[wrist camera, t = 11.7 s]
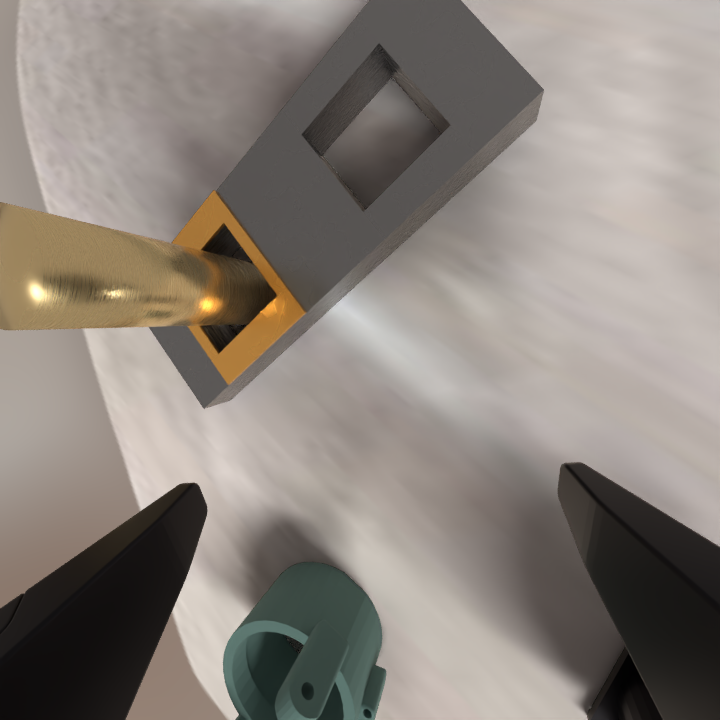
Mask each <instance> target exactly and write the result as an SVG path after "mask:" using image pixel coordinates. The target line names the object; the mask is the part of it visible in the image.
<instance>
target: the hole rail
mask: <svg viewBox="0 0 720 720" xmlns="http://www.w3.org/2000/svg"><path fill="white" fill-rule="evenodd" d="M391 77H393V78H394V79H395V80H396V81H397V83H398V84H399V85H400V86H401V87H402V88H403V89H404V91H405V92H406V93H407V94H408V95H409V96H410V98H411V99H412V100H413V101H414V102H415V103H416V104H417V106H418V107H419V108H420V109H421V110H422V111H423V113H424V114H425V115H426V116H427V117H428V118H429V119H430V121H431V122H432V123H433V124H434V125H435V126H436V128H437V129H438V130H439V131H440V132H441V133H442V134H441V135H440V136H439V137H438V138H437V139H436V140H435V141H434V142H433V143H432V144H431V145H430V146H429V147H428V148H427V149H426V150H425V151H424V152H423V153H422V154H421V155H420V156H419V157H418V158H417V159H416V160H415V161H414V162H413V163H412V164H411V165H410V166H409V167H408V168H407V169H406V170H405V171H404V172H403V173H402V174H401V175H400V176H399V177H398V178H397V179H396V180H395V181H394V182H393V183H392V184H391V185H390V186H389V187H388V188H387V189H386V190H385V191H384V192H383V193H382V194H381V195H380V196H379V197H378V198H377V199H376V200H375V201H374V202H373V203H372V204H371V205H370V206H369V207H368V208H367V209H365V208H364V207H363V206H362V204H361V203H360V202H359V201H358V199H357V198H356V197H355V196H354V194H353V193H352V192H351V191H350V189H349V188H348V187H347V186H346V184H345V183H344V182H343V181H342V179H341V178H340V177H339V176H338V175H337V173H336V172H335V171H334V170H333V168H332V167H331V166H330V165H329V163H328V162H327V161H326V160H325V158H324V157H323V156H322V154H323V153H324V152H325V151H326V150H327V149H328V148H329V146H330V145H331V144H332V143H333V142H334V141H335V140H336V139H337V137H338V136H339V135H340V134H341V133H342V132H343V131H344V130H345V128H346V127H347V126H348V125H349V124H350V123H351V122H352V121H353V119H354V118H355V117H356V116H357V115H358V114H359V113H360V112H361V111H362V109H363V108H364V107H365V106H366V105H367V104H368V103H369V102H370V100H371V99H372V98H373V97H374V96H375V95H376V94H377V93H378V91H379V90H380V89H381V88H382V87H383V86H384V85H385V84H386V82H387V81H388V80H389V79H390V78H391ZM543 92H544V89H543V88H542V87H541V86H540V85H539V84H538V83H537V82H536V81H535V80H534V79H533V78H532V76H531V75H530V74H529V73H528V72H527V71H526V70H525V69H524V68H523V67H522V66H521V65H520V64H519V62H518V61H517V60H516V59H515V58H514V57H513V56H512V55H511V54H510V53H509V52H508V51H507V50H506V49H505V47H504V46H503V45H502V44H501V43H500V42H499V41H498V40H497V39H496V38H495V37H494V36H493V35H492V33H491V32H490V31H489V30H488V29H487V28H486V27H485V26H484V25H483V24H482V23H481V22H480V21H479V19H478V18H477V17H476V16H475V15H474V14H473V13H472V12H471V11H470V10H469V9H468V8H467V7H466V6H465V4H464V3H463V2H462V1H461V0H369V2H368V3H367V4H366V5H365V7H364V8H363V9H362V10H361V12H360V13H359V14H358V15H357V17H356V18H355V19H354V20H353V22H352V23H351V24H350V25H349V27H348V28H347V29H346V30H345V32H344V33H343V34H342V35H341V37H340V38H339V39H338V40H337V42H336V43H335V44H334V45H333V47H332V48H331V49H330V50H329V51H328V53H327V54H326V55H325V56H324V58H323V59H322V60H321V61H320V63H319V64H318V65H317V66H316V68H315V69H314V70H313V71H312V73H311V74H310V75H309V76H308V78H307V79H306V80H305V81H304V83H303V84H302V85H301V86H300V88H299V89H298V90H297V91H296V93H295V94H294V95H293V96H292V98H291V99H290V100H289V101H288V103H287V104H286V105H285V106H284V108H283V109H282V110H281V111H280V112H279V114H278V115H277V116H276V117H275V119H274V120H273V121H272V122H271V124H270V125H269V126H268V127H267V129H266V130H265V131H264V132H263V134H262V135H261V136H260V137H259V139H258V140H257V141H256V142H255V144H254V145H253V146H252V147H251V149H250V150H249V151H248V152H247V154H246V155H245V156H244V157H243V159H242V160H241V161H240V162H239V164H238V165H237V166H236V167H235V168H234V170H233V171H232V172H231V173H230V175H229V176H228V177H227V178H226V180H225V181H224V182H223V183H222V185H221V186H220V187H219V188H218V190H217V191H215V190H213V192H212V193H211V194H210V195H209V197H208V198H207V199H206V200H205V202H204V203H203V204H202V205H201V207H200V208H199V209H198V210H197V212H196V213H195V214H194V215H193V217H192V218H191V219H190V220H189V222H188V223H187V224H186V225H185V227H184V228H183V229H182V230H181V232H180V233H179V234H178V235H177V237H176V238H175V239H174V240H173V242H172V243H173V244H177V245H181V246H185V247H189V248H194V249H198V250H202V251H206V252H210V253H214V254H219V255H223V256H227V257H231V256H232V255H233V254H234V253H235V252H236V251H237V250H238V249H239V247H240V246H241V247H242V248H243V249H244V251H245V252H246V253H247V255H248V256H249V258H250V259H251V260H252V262H253V263H254V264H255V266H256V267H257V268H258V270H259V271H260V272H261V274H262V275H263V276H264V278H265V279H266V281H267V282H268V283H269V285H270V286H271V287H272V289H273V290H274V291H275V293H276V294H277V296H276V297H275V298H274V299H273V300H272V301H271V302H270V303H269V304H268V305H267V306H266V307H265V308H264V309H263V310H262V311H261V312H260V313H259V314H258V315H257V316H256V317H255V318H254V319H253V320H252V321H251V322H250V323H249V324H248V325H247V326H246V327H245V328H244V329H243V330H242V331H241V332H240V333H239V334H238V335H237V336H236V335H235V334H234V332H233V331H232V329H231V328H230V327H229V325H202V326H161V327H149V328H150V330H151V331H152V333H153V334H154V336H155V337H156V338H157V340H158V341H159V343H160V344H161V346H162V347H163V349H164V350H165V352H166V353H167V355H168V356H169V358H170V359H171V361H172V362H173V364H174V365H175V367H176V368H177V370H178V371H179V373H180V374H181V376H182V377H183V378H184V380H185V381H186V383H187V384H188V386H189V387H190V389H191V390H192V392H193V393H194V395H195V396H196V398H197V399H198V401H199V402H200V404H201V405H202V407H203V408H204V409H205V408H208V407H211V406H214V405H217V404H221V403H224V402H227V401H230V400H231V399H232V398H233V397H234V396H236V395H237V394H238V393H239V392H240V391H241V390H242V389H243V388H244V387H245V386H247V385H248V384H249V383H250V382H251V381H252V380H253V379H254V378H255V377H256V376H257V375H259V374H260V373H261V372H262V371H263V370H264V369H265V368H266V367H267V366H268V365H270V364H271V363H272V362H273V361H274V360H275V359H276V358H277V357H278V356H279V355H280V354H282V353H283V352H284V351H285V350H286V349H287V348H288V347H289V346H290V345H291V344H292V343H294V342H295V341H296V340H297V339H298V338H299V337H300V336H301V335H302V334H303V333H305V332H306V331H307V330H308V329H309V328H310V327H311V326H312V325H313V324H314V323H315V322H317V321H318V320H319V319H320V318H321V317H322V316H323V315H324V314H325V313H326V312H327V311H329V310H330V309H331V308H332V307H333V306H334V305H335V304H336V303H337V302H338V301H340V300H341V299H342V298H343V297H344V296H345V295H346V294H347V293H348V292H349V291H350V290H352V289H353V288H354V287H355V286H356V285H357V284H358V283H359V282H360V281H361V280H363V279H364V278H365V277H366V276H367V275H368V274H369V273H370V272H371V271H372V270H373V269H375V268H376V267H377V266H378V265H379V264H380V263H381V262H382V261H383V260H384V259H385V258H387V257H388V256H389V255H390V254H391V253H392V252H393V251H394V250H395V249H396V248H398V247H399V246H400V245H401V244H402V243H403V242H404V241H405V240H406V239H407V238H408V237H410V236H411V235H412V234H413V233H414V232H415V231H416V230H417V229H418V228H419V227H421V226H422V225H423V224H424V223H425V222H426V221H427V220H428V219H429V218H430V217H431V216H433V215H434V214H435V213H436V212H437V211H438V210H439V209H440V208H441V207H442V206H443V205H445V204H446V203H447V202H448V201H449V200H450V199H451V198H452V197H453V196H454V195H456V194H457V193H458V192H459V191H460V190H461V189H462V188H463V187H464V186H465V185H466V184H468V183H469V182H470V181H471V180H472V179H473V178H474V177H475V176H476V175H477V174H478V173H480V172H481V171H482V170H483V169H484V168H485V167H486V166H487V165H488V164H489V163H491V162H492V161H493V160H494V159H495V158H496V157H497V156H498V155H499V154H500V153H501V152H503V151H504V150H505V149H506V148H507V147H508V146H509V145H510V144H511V143H512V142H514V141H515V140H516V139H517V138H518V137H519V136H520V135H521V134H522V133H523V132H524V131H526V130H527V129H528V128H529V127H530V126H531V125H532V124H533V123H534V122H535V121H536V120H537V116H538V112H539V108H540V104H541V100H542V96H543Z"/></svg>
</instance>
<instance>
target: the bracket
mask: <svg viewBox="0 0 720 720" xmlns="http://www.w3.org/2000/svg"><path fill="white" fill-rule="evenodd" d="M284 635H287V636H289V637H291V638H293V639H295V640H297V641H299V642H300V643H302V644H303V645H304V646H303V648H302V650H301V652H300V654H298V653H297V652H296V651H295V649H294V648H293V647H292V646H291V645H290V644H289V642H288V641H287V639H286V637H285V636H284ZM381 643H382V630H381V624H380V620H379V616H378V614H377V611H376V609H375V607H374V605H373V603H372V601H371V600H370V598H369V597H368V595H367V594H366V593H365V592H364V591H363V590H362V589H361V588H360V587H359V586H358V585H357V584H356V583H355V582H354V581H352V580H351V579H350V578H349V577H348V576H347V575H346V574H345V573H344V572H342V571H340V570H338V569H336V568H335V567H332V566H329V565H326V564H323V563H317V562H303V563H299V564H295V565H293V566H291V567H289V568H288V569H286V570H285V571H284V572H283V573H282V574H281V575H280V576H279V578H278V579H277V580H276V581H275V582H274V584H273V585H272V586H271V587H270V589H269V590H268V591H267V592H266V594H265V595H264V596H263V597H262V599H261V600H260V601H259V602H258V604H257V605H256V606H255V607H254V609H253V610H252V611H251V612H250V613H249V615H248V616H247V617H246V618H245V620H244V621H243V622H242V623H241V625H240V626H239V627H238V628H237V630H236V631H235V632H234V633H233V635H232V636H231V638H230V639H229V641H228V643H227V646H226V649H225V652H224V659H223V672H224V678H225V683H226V687H227V690H228V693H229V696H230V698H231V700H232V702H233V705H234V706H235V708H236V710H237V712H238V713H239V716H238V717H237V718H236V720H375V716H376V713H377V709H378V706H379V702H380V699H381V695H382V691H383V688H384V684H385V678H386V670H385V669H383V668H381V667H379V666H376V662H377V658H378V655H379V652H380V649H381Z"/></svg>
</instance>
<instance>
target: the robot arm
mask: <svg viewBox="0 0 720 720" xmlns="http://www.w3.org/2000/svg"><path fill="white" fill-rule="evenodd" d="M558 497H559V501H560V503H561V506H562V509H563V511H564V514H565V516H566V519H567V521H568V524H569V527H570V529H571V532H572V534H573V537H574V540H575V542H576V545H577V547H578V550H579V553H580V555H581V558H582V560H583V562H584V565H585V567H586V569H587V571H588V573H589V575H590V577H591V579H592V581H593V583H594V585H595V587H596V589H597V591H598V593H599V595H600V597H601V599H602V601H603V603H604V605H605V607H606V609H607V611H608V613H609V615H610V617H611V619H612V620H613V622H614V624H615V626H616V628H617V630H618V632H619V634H620V636H621V638H622V640H623V642H624V644H625V646H626V647H625V649H624V650H623V652H622V654H621V656H620V657H619V659H618V661H617V663H616V665H615V666H614V668H613V670H612V672H611V673H610V675H609V677H608V679H607V680H606V682H605V684H604V686H603V688H602V689H601V691H600V693H599V695H598V696H597V698H596V700H595V702H594V703H593V705H592V707H591V709H590V711H589V712H588V715H587V718H588V720H720V547H719V546H718V545H716V544H714V543H713V542H711V541H709V540H708V539H706V538H704V537H703V536H701V535H700V534H698V533H696V532H695V531H693V530H691V529H690V528H688V527H686V526H685V525H683V524H682V523H680V522H678V521H677V520H675V519H673V518H672V517H670V516H668V515H667V514H665V513H664V512H662V511H660V510H659V509H657V508H655V507H654V506H652V505H650V504H649V503H647V502H646V501H644V500H642V499H641V498H639V497H637V496H636V495H634V494H633V493H631V492H629V491H628V490H626V489H624V488H623V487H621V486H619V485H618V484H616V483H615V482H613V481H611V480H610V479H608V478H606V477H605V476H603V475H601V474H600V473H598V472H597V471H595V470H593V469H592V468H590V467H588V466H587V465H585V464H583V463H580V462H574V463H564V464H562V465H561V468H560V475H559V483H558ZM206 516H207V504H206V502H205V499H204V497H203V494H202V492H201V489H200V487H199V485H198V484H197V483H182V484H179V485H178V486H176V487H175V488H173V489H172V490H171V491H169V492H168V493H166V494H165V495H163V496H162V497H160V498H159V499H158V500H156V501H155V502H153V503H152V504H150V505H149V506H147V507H146V508H145V509H143V510H142V511H140V512H139V513H137V514H136V515H134V516H133V517H132V518H130V519H129V520H128V521H126V522H124V523H123V524H122V525H120V526H119V527H117V528H116V529H114V530H113V531H111V532H110V533H109V534H107V535H106V536H104V537H103V538H101V539H100V540H98V541H97V542H96V543H94V544H93V545H91V546H90V547H88V548H87V549H85V550H84V551H83V552H81V553H80V554H78V555H77V556H75V557H74V558H72V559H71V560H70V561H68V562H67V563H65V564H64V565H62V566H61V567H60V568H58V569H57V570H55V571H54V572H52V573H51V574H49V575H48V576H47V577H45V578H44V579H42V580H41V581H39V582H38V583H36V584H35V585H34V586H32V587H31V588H29V589H28V590H27V591H26V592H25V594H20V595H19V596H18V597H16V598H15V599H13V600H12V601H10V602H9V603H8V604H6V605H5V606H3V607H2V608H0V720H126V717H127V715H128V713H129V710H130V708H131V706H132V703H133V701H134V699H135V696H136V694H137V692H138V689H139V687H140V685H141V682H142V680H143V677H144V675H145V673H146V670H147V668H148V666H149V664H150V661H151V659H152V657H153V654H154V652H155V650H156V647H157V645H158V642H159V640H160V638H161V636H162V633H163V631H164V629H165V626H166V624H167V622H168V619H169V617H170V615H171V612H172V610H173V608H174V605H175V603H176V601H177V598H178V596H179V594H180V591H181V589H182V587H183V584H184V582H185V579H186V577H187V574H188V571H189V569H190V566H191V563H192V560H193V557H194V554H195V550H196V547H197V544H198V541H199V538H200V535H201V532H202V529H203V526H204V523H205V520H206Z"/></svg>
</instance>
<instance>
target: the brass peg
mask: <svg viewBox="0 0 720 720" xmlns="http://www.w3.org/2000/svg"><path fill="white" fill-rule="evenodd" d="M275 297H276V293H275V291H274V290H273V289H272V287H271V286H270V285H269V283H268V282H267V281H266V279H265V278H264V276H263V275H262V274H261V272H260V271H259V270H258V268H257V267H256V266H255V264H254V263H252V262H248V261H243V260H239V259H235V258H231V257H227V256H223V255H219V254H214V253H210V252H206V251H202V250H198V249H194V248H189V247H185V246H181V245H177V244H173V243H169V242H165V241H160V240H156V239H152V238H148V237H144V236H140V235H135V234H131V233H127V232H123V231H119V230H115V229H111V228H106V227H102V226H98V225H94V224H90V223H86V222H81V221H77V220H73V219H69V218H65V217H61V216H57V215H52V214H48V213H44V212H40V211H36V210H31V209H27V208H23V207H19V206H15V205H10V204H7V203H2V202H0V329H3V330H40V329H81V328H121V327H161V326H202V325H242V324H249V323H250V322H251V321H252V320H253V319H254V318H255V317H256V316H257V315H258V314H259V313H260V312H261V311H262V310H263V309H264V308H265V307H266V306H267V305H268V304H269V303H270V302H271V301H272V300H273V299H274V298H275Z"/></svg>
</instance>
